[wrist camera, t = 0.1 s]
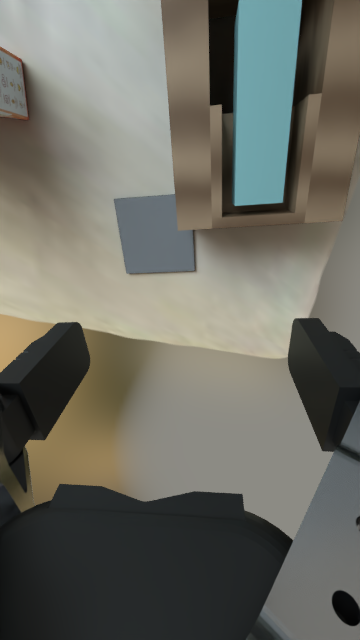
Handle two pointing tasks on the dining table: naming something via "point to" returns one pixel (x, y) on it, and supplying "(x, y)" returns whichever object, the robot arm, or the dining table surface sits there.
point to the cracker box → (12, 87)
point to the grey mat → (153, 235)
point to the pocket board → (305, 127)
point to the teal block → (263, 97)
